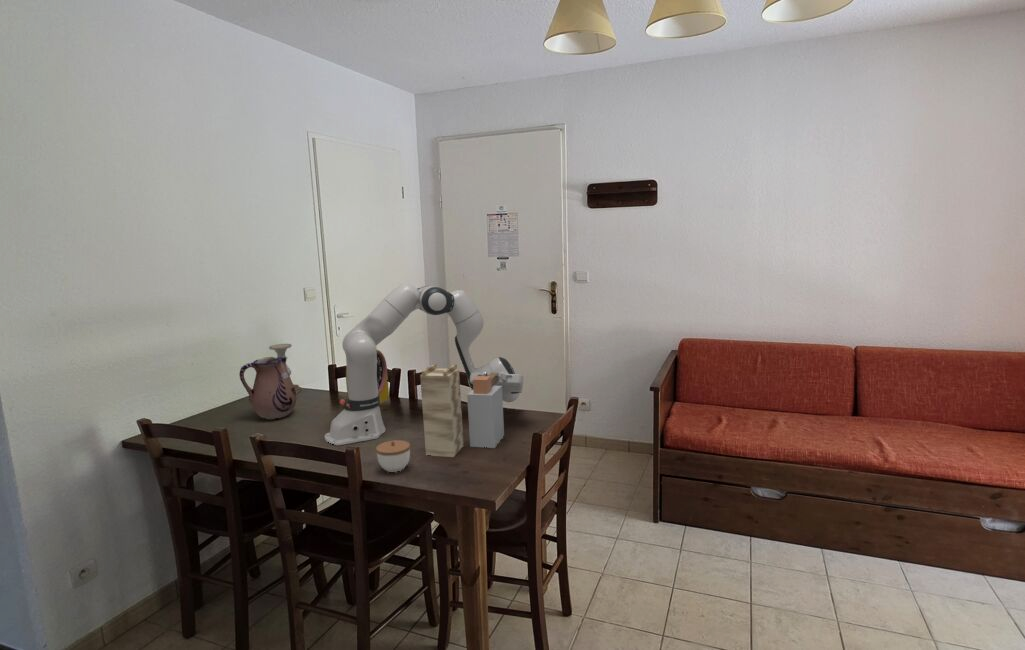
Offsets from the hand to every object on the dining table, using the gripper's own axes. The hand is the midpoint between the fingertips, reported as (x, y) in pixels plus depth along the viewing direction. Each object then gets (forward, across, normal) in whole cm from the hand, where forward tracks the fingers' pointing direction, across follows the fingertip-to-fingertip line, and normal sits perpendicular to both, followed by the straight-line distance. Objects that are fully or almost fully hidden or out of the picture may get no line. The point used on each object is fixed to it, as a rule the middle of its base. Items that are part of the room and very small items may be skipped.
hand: (491, 374), depth 217 cm
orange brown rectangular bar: (+2, 0, +5) cm, 6 cm away
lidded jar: (+20, -22, +38) cm, 48 cm away
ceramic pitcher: (-16, -100, +17) cm, 103 cm away
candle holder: (-45, -118, 0) cm, 126 cm away
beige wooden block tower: (+5, -12, +29) cm, 32 cm away
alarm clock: (-36, -66, +6) cm, 76 cm away
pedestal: (-4, 0, +24) cm, 24 cm away
